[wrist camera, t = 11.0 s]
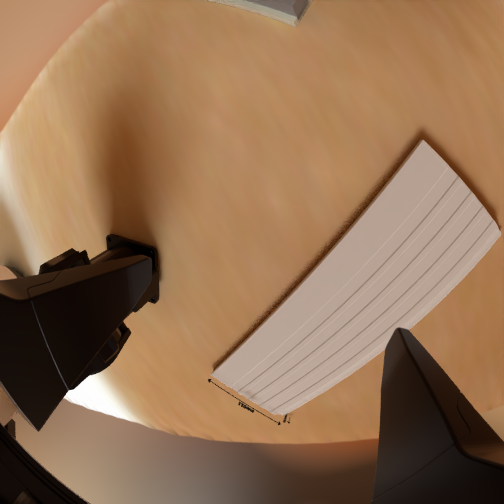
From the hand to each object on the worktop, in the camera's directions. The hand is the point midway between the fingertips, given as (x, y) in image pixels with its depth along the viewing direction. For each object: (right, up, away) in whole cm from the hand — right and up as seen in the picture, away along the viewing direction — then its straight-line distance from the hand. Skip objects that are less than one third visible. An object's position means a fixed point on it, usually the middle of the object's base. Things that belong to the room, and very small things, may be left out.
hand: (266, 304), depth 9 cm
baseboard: (+8, -4, +15) cm, 18 cm away
